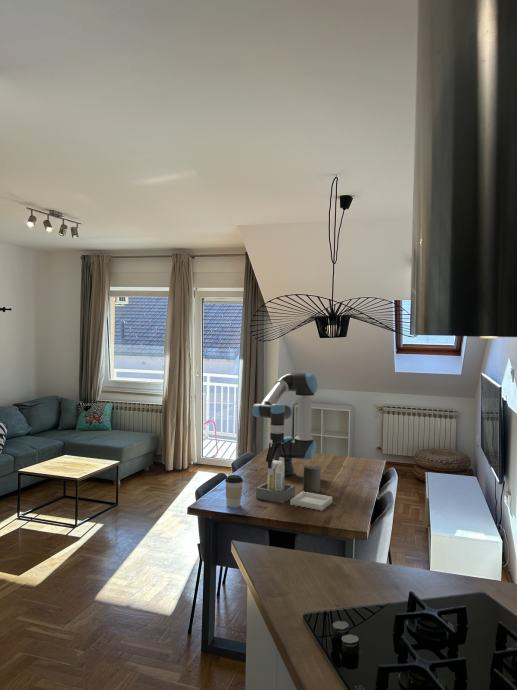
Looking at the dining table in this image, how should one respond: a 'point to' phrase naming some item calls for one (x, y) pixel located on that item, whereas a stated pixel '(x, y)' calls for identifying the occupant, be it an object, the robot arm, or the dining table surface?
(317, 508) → the tray
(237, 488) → the coffee cup
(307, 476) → the pillar candle
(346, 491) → the dining table surface
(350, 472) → the dining table surface
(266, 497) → the grey open box
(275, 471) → the juice carton
